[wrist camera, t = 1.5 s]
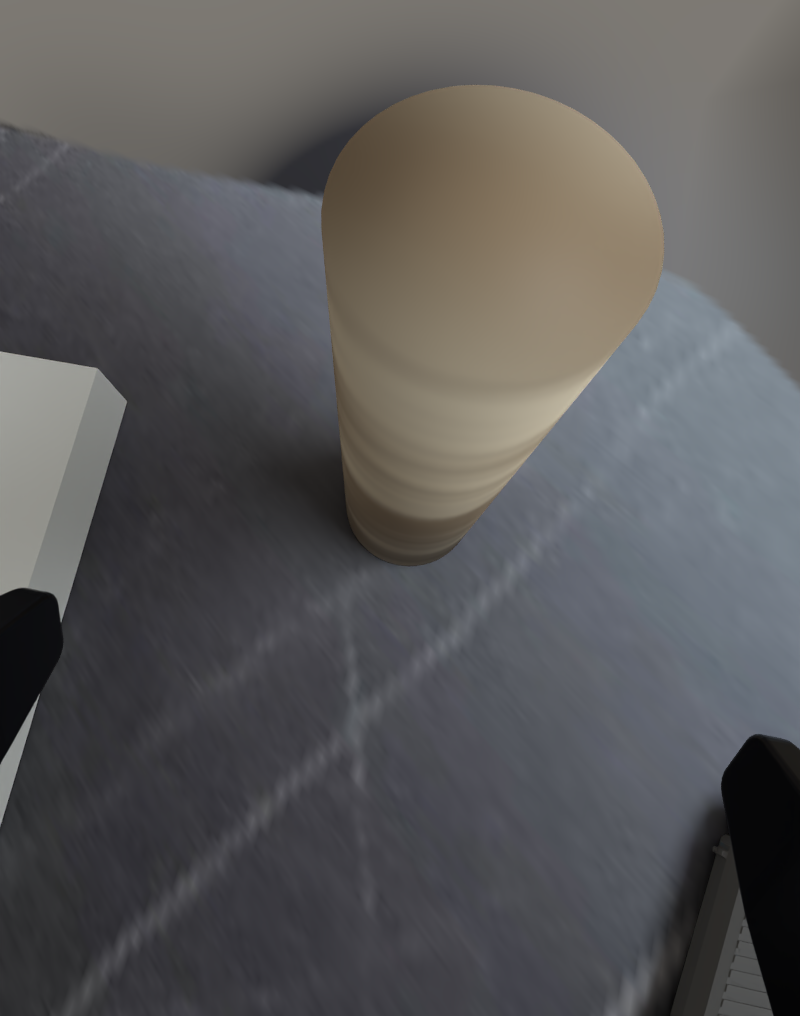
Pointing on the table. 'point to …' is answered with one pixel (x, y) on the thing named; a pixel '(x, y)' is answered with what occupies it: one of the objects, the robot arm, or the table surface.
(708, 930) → the orange-tipped hinged bar
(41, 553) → the socket board
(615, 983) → the table surface
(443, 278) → the plug
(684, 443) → the table surface
